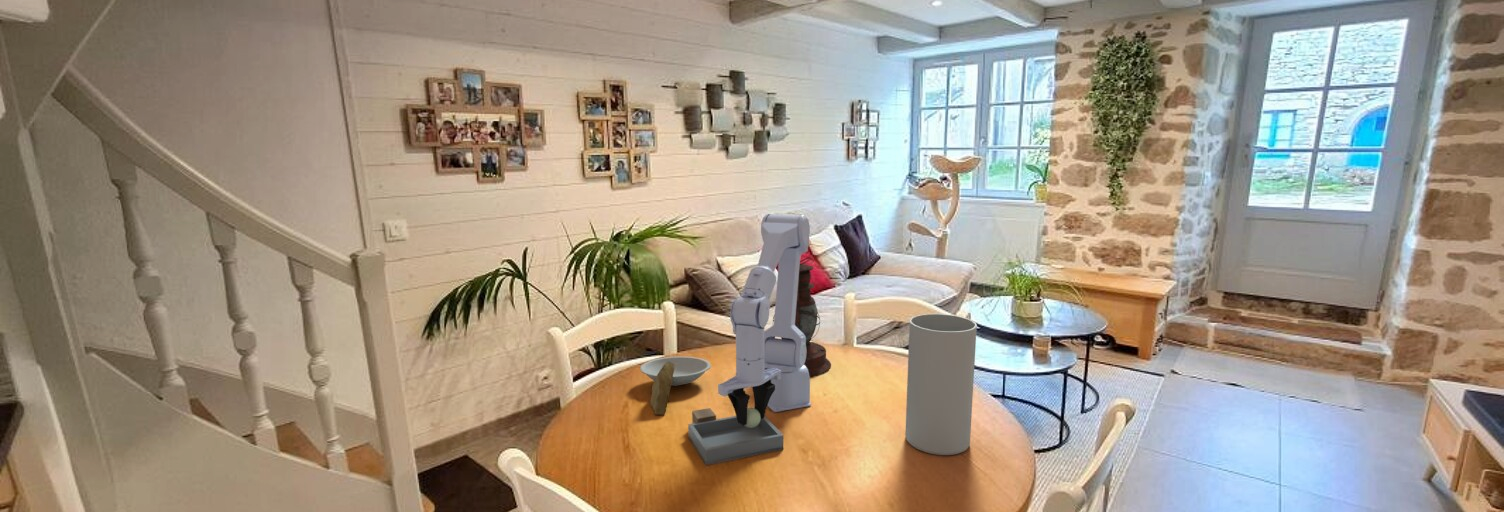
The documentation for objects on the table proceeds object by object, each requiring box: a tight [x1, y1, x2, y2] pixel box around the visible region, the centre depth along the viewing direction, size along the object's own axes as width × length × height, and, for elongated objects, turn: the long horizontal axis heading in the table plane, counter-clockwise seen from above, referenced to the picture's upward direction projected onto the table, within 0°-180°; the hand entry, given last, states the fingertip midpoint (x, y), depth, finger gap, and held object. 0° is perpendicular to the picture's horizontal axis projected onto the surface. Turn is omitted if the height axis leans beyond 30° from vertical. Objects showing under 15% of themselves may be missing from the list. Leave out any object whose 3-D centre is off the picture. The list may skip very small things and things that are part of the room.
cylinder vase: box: [904, 313, 978, 456], centre depth 122 cm, size 12×12×25 cm
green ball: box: [744, 407, 761, 428], centre depth 125 cm, size 4×4×4 cm
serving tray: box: [687, 415, 784, 466], centre depth 124 cm, size 16×12×3 cm
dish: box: [639, 356, 712, 387], centre depth 155 cm, size 18×14×5 cm
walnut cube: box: [691, 407, 717, 424], centre depth 130 cm, size 4×4×4 cm
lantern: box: [765, 256, 832, 378], centre depth 166 cm, size 19×19×30 cm
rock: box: [649, 362, 675, 416], centre depth 142 cm, size 11×9×10 cm
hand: (750, 420), depth 125 cm, fingers closed on green ball, 4 cm apart
